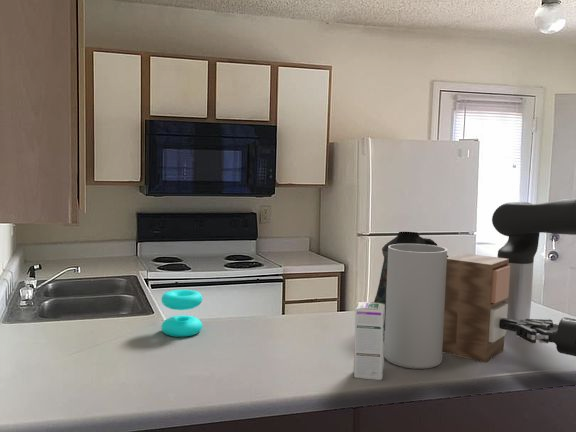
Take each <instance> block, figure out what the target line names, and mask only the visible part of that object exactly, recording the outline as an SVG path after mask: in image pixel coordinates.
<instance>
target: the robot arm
mask: <svg viewBox="0 0 576 432" xmlns="http://www.w3.org/2000/svg"><path fill="white" fill-rule="evenodd" d="M491 223H492V226H493V228H494V229H495V230H496V232H497V233H499V234H500V235H502V236H505V237H508V240H507V241H506V242H505V244H504V245H503V246H502V247H500V248H499V249H498V250H497V257H498V258H506V259H509V266H510V277H509V294H508V298H507V300H506V304H508V311H507V318H502V319H500V325H499V327H500V328H501V329H505V330H506V331H510V332H514V333H515V336H517V337H519V338H520V339H523V340H525V341H526V342H528V343H530V344H536V343H537V341H538V342H540V343H542V344H550V343H554V344H555V348H556V350H557V352H558V353H560V354H563V355H568V356H572V357H576V318H570V317H563V318H561V319H560V320H559V323H558V324H556V323H554V321H553V320H552V319H541V318H540V319H536V318H531V308H532V295H533V294H532V293H533V281H534V280H533V279H534V260H535V256H536V254H537V252H538V247H539V240H540V233H541V234H543V233H544V234H555V235H556V234H557V235H569V236H570V235H571V236H573V235H574V236H576V197H571V198H565V199H557V200H553V201H547V202H541V203H531V202H529V201H527V202H525V201H516V202H506V203H503V204H500V206H498V207H497V208H496V209H495V210H494V212H493V213H492V216H491Z"/></svg>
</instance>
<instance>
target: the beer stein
mask: <svg viewBox="0 0 576 432" xmlns="http://www.w3.org/2000/svg"><path fill="white" fill-rule="evenodd" d="M394 244H425V245H434V246H438V244H437V242H435V241H434V240H433V239H431V238H426V237H425V238H424V237H422V236H420V233H419V232H417V231H416V232H415V231H398V234H397V236H396V237H394V238H392V239H391V240H389V241H387V243H386V244H384V246H383V247H382V248H381V250H382V255H383V262H382V267H381V272H380V278H379V284H378V286H377V290H376V294H375V298H374V301H373V302H377V303H383V304H385V316H386V290H387V265H388V246H389V245H394ZM447 257H449V255H448V254H447ZM384 332H385V324H384Z"/></svg>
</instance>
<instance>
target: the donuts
mask: <svg viewBox="0 0 576 432" xmlns="http://www.w3.org/2000/svg"><path fill="white" fill-rule="evenodd" d="M160 299H161V303H162V305H163V306H165V308H168V309H170V310H178V311H185V310H192V309H195V308H196V307H199V306H200V305H201V303H202V302H203V296H202V294H201V293H200V292H199V291H197V290H191V289H174V290H170V291H167V292H165V293H163V294H162V296H161V298H160ZM202 329H203V323H202V321H201V320H200V319H199V318H197V317H196V316H192V315H184V314H183V315H175V316H170V317H169V318H166V319H165V320H164V321H163V322H162V324H161V331H162V332H163V334H165V335H167V336H170V337H174V338H182V337H183V338H186V337H191V336H196V335H197V334H199V333H200V332H201V331H202Z"/></svg>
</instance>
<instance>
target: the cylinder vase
mask: <svg viewBox="0 0 576 432" xmlns="http://www.w3.org/2000/svg"><path fill="white" fill-rule="evenodd" d="M447 255H448V248H447V247H443V246H438V245H437V246H434V245H425V244H394V245H389V246H388V265H387V290H386V316H385V331H384V359H385V360H387V361H388V362H389V363H391V364H393V365H395V366H399V367H402V368H407V369H415V370H417V369H419V370H420V369H421V370H423V369H431V368H435V367H437V366H439V365H440V364H441V363H442V360H443V352H442V346H443V326H444V306H445V286H446V265H447Z"/></svg>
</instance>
